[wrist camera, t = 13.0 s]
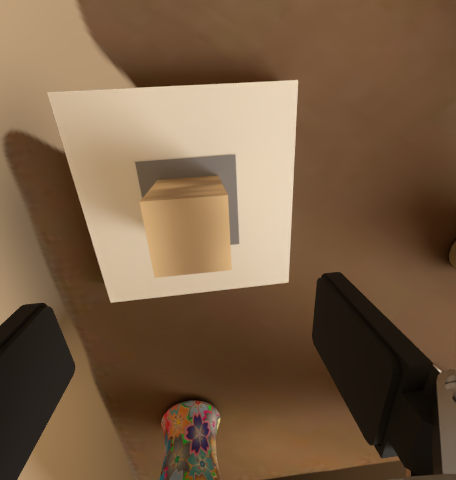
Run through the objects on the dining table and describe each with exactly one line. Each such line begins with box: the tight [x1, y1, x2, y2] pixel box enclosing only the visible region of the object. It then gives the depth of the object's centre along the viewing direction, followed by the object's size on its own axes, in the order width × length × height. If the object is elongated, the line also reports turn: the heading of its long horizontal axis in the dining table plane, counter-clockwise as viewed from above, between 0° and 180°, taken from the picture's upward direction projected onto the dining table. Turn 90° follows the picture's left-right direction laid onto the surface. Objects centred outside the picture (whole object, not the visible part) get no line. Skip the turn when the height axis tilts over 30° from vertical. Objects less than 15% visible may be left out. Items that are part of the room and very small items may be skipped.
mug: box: [159, 401, 222, 480], centre depth 33 cm, size 12×9×11 cm
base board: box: [47, 80, 298, 303], centre depth 23 cm, size 18×18×3 cm
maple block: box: [140, 176, 232, 278], centre depth 18 cm, size 5×5×7 cm
